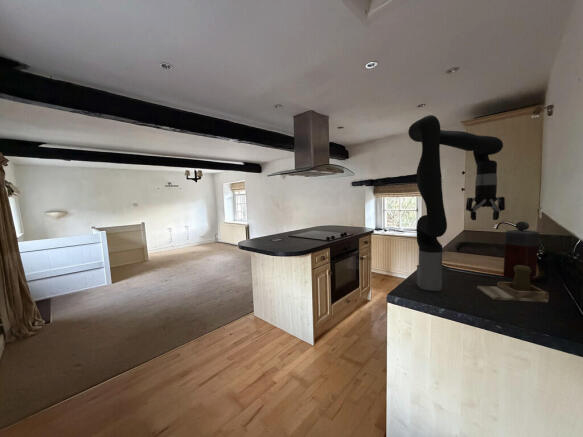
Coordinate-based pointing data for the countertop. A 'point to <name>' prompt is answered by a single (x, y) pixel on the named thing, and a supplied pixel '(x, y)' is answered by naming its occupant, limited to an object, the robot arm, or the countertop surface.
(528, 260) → the red coffee grinder
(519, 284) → the olive yellow waisted cylinder
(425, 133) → the robot arm
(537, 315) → the countertop surface
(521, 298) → the socket board
